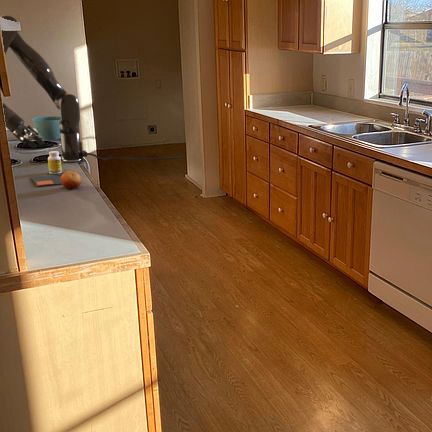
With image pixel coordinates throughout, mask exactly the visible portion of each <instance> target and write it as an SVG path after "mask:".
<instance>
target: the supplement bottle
mask: <svg viewBox="0 0 432 432" xmlns="http://www.w3.org/2000/svg"><path fill="white" fill-rule="evenodd" d="M48 154H49V156H48V157H47V164H48V172H49V174H50V175H60V174H61V173H62V172H63V169H62V168H63V167H62V157H61V156H59V154H60V153H59V151H58V150H51V151H49V152H48Z"/></svg>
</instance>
